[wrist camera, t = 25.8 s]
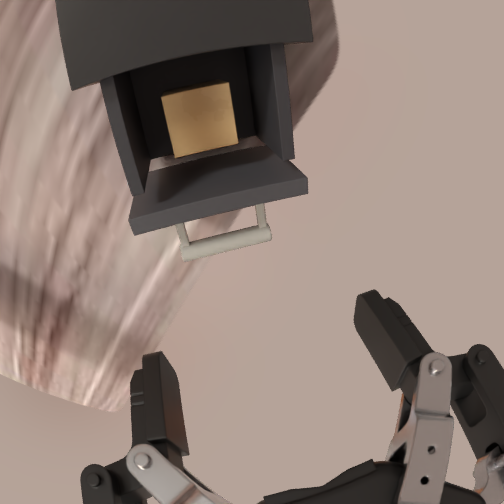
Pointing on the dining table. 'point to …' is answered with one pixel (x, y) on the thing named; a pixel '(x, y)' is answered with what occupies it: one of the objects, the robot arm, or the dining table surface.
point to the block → (200, 117)
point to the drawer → (215, 167)
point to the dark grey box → (168, 31)
